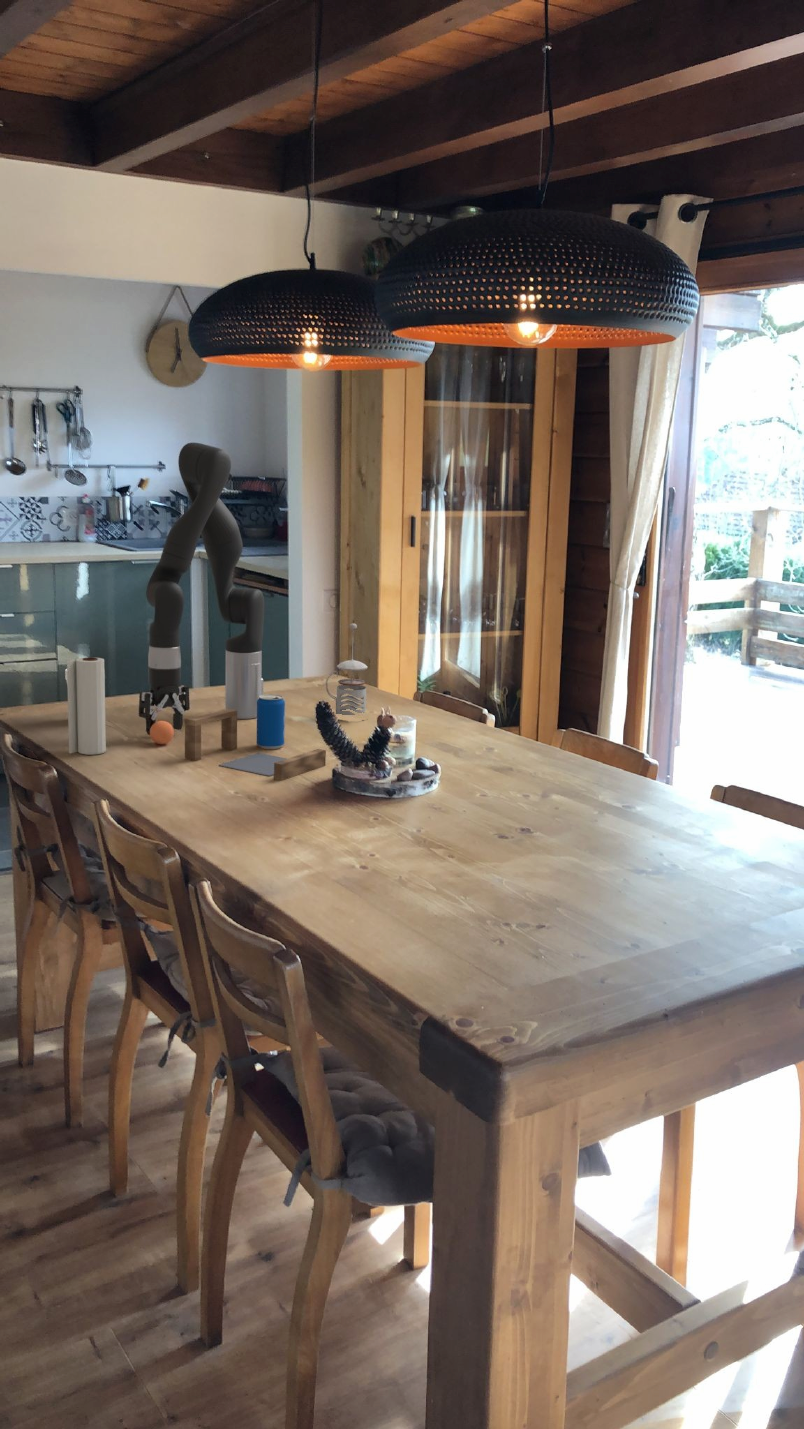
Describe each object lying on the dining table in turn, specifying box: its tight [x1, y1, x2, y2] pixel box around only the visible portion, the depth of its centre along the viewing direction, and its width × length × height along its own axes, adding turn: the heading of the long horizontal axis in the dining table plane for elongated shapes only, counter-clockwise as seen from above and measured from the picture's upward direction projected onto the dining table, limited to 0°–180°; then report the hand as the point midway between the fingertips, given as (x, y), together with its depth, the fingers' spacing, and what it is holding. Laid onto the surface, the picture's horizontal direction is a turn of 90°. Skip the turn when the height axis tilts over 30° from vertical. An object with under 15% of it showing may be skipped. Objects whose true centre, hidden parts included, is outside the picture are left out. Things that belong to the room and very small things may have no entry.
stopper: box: [273, 748, 327, 781], centre depth 258 cm, size 16×2×4 cm, turn 148°
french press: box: [325, 623, 369, 715], centre depth 311 cm, size 10×12×25 cm
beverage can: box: [256, 693, 286, 750], centre depth 279 cm, size 6×6×12 cm
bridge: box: [184, 708, 238, 762], centre depth 270 cm, size 3×14×9 cm, turn 148°
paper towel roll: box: [66, 656, 107, 756], centre depth 267 cm, size 7×6×21 cm
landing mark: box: [218, 752, 288, 777], centre depth 264 cm, size 14×14×1 cm
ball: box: [149, 720, 175, 745], centre depth 278 cm, size 6×6×6 cm
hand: (164, 731), depth 284 cm, fingers open, 8 cm apart
